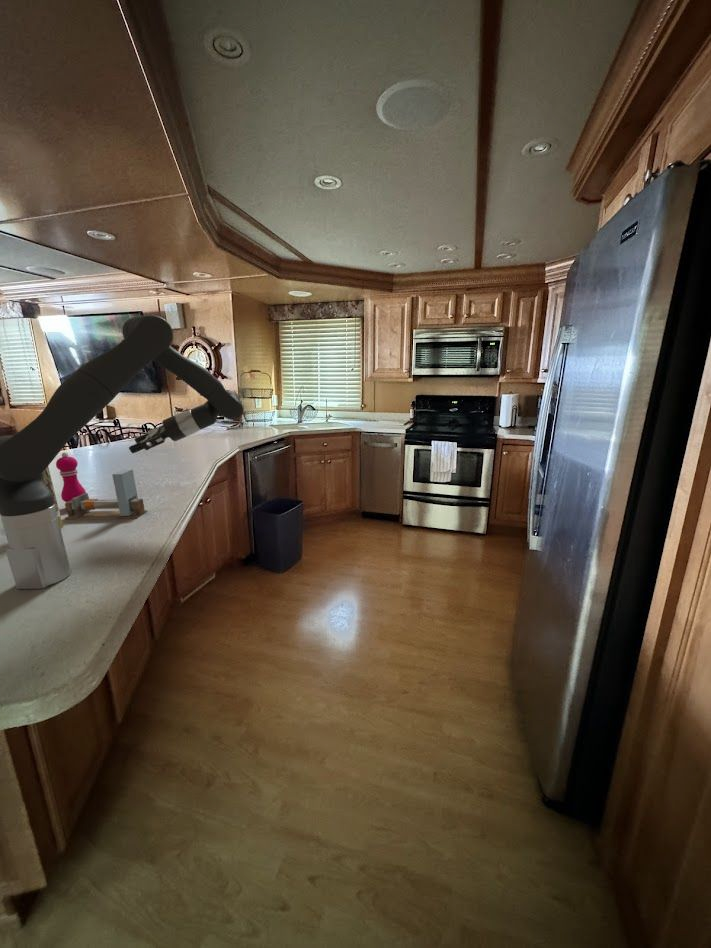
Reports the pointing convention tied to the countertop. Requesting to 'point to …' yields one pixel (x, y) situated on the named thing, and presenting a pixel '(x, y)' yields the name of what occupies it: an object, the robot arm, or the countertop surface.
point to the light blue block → (125, 490)
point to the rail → (106, 513)
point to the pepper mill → (69, 478)
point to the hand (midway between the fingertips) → (133, 446)
